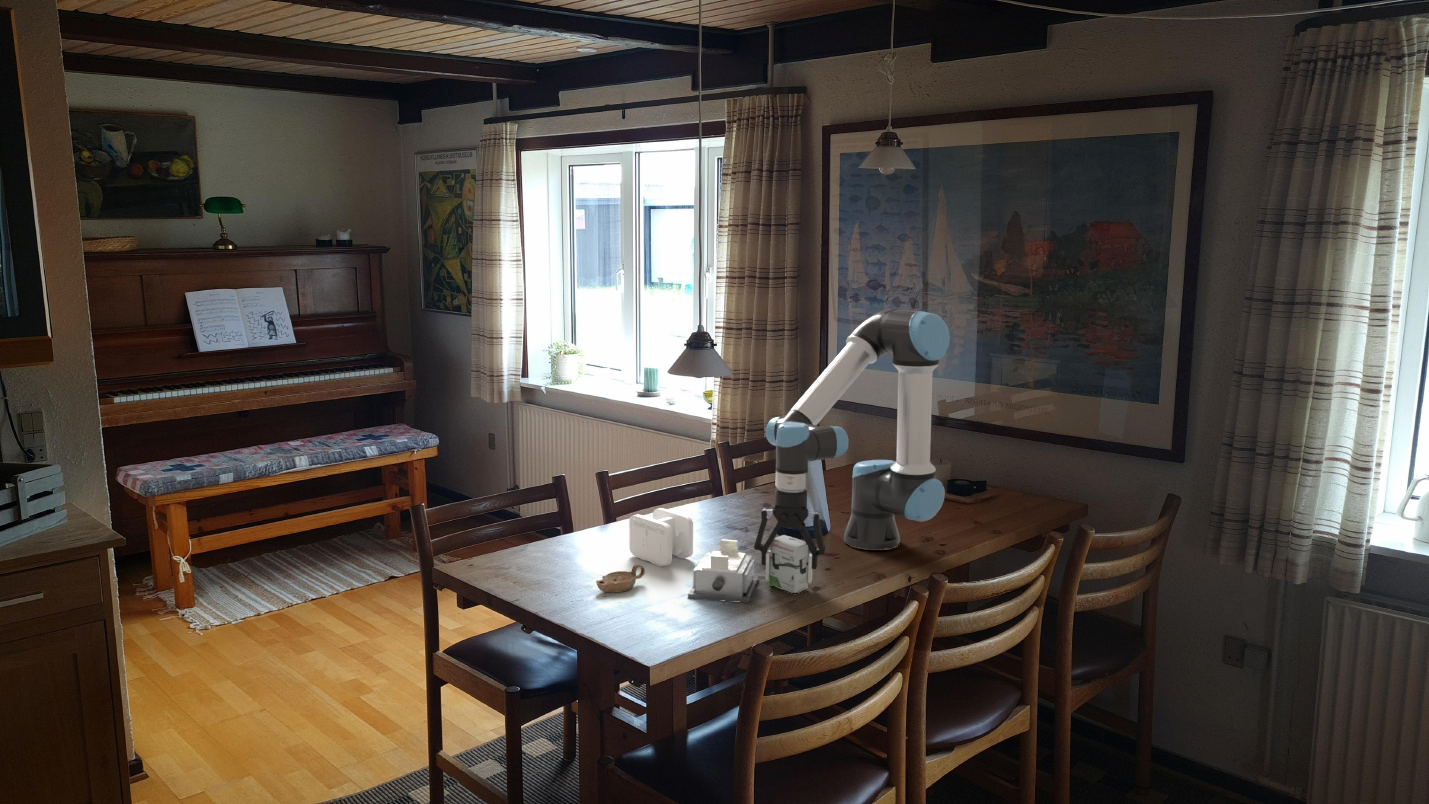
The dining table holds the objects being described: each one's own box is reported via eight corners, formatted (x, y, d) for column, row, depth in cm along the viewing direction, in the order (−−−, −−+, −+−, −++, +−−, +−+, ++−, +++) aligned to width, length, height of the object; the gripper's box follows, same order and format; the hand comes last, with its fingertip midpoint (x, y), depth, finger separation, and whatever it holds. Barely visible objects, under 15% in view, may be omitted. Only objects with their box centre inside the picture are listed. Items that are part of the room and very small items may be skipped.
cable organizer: (695, 561, 254) (696, 517, 252) (665, 570, 246) (665, 525, 245) (657, 547, 264) (657, 506, 262) (627, 556, 257) (627, 513, 255)
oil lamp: (604, 598, 227) (604, 578, 226) (589, 589, 233) (588, 569, 232) (652, 587, 235) (652, 567, 234) (636, 578, 241) (636, 559, 240)
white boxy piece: (758, 579, 241) (759, 540, 239) (747, 604, 225) (747, 561, 223) (702, 575, 243) (702, 535, 242) (687, 598, 227) (687, 557, 226)
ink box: (768, 585, 236) (769, 538, 235) (781, 581, 240) (783, 534, 238) (795, 595, 230) (797, 546, 228) (809, 590, 234) (810, 542, 232)
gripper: (742, 489, 230) (740, 581, 233) (837, 495, 225) (834, 588, 229) (747, 481, 237) (745, 570, 241) (839, 487, 233) (836, 578, 236)
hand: (788, 579), depth 235 cm, fingers closed on ink box, 9 cm apart
